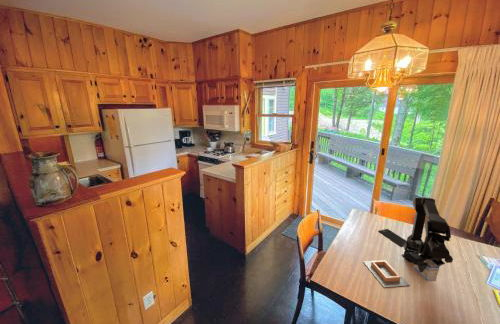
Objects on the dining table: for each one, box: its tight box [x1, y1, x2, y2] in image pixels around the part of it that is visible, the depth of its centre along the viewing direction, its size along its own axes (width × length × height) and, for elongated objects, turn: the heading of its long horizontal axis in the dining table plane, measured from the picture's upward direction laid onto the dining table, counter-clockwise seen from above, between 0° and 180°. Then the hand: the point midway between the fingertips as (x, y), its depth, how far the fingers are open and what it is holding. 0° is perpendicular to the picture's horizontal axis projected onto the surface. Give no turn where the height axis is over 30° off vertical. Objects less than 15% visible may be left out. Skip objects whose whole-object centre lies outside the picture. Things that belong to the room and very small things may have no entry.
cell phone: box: [378, 228, 407, 248], centre depth 143 cm, size 9×18×1 cm, turn 15°
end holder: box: [362, 259, 411, 289], centre depth 113 cm, size 14×18×3 cm
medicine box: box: [413, 260, 440, 283], centre depth 99 cm, size 8×4×9 cm, turn 4°
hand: (425, 271), depth 100 cm, fingers closed on medicine box, 4 cm apart
